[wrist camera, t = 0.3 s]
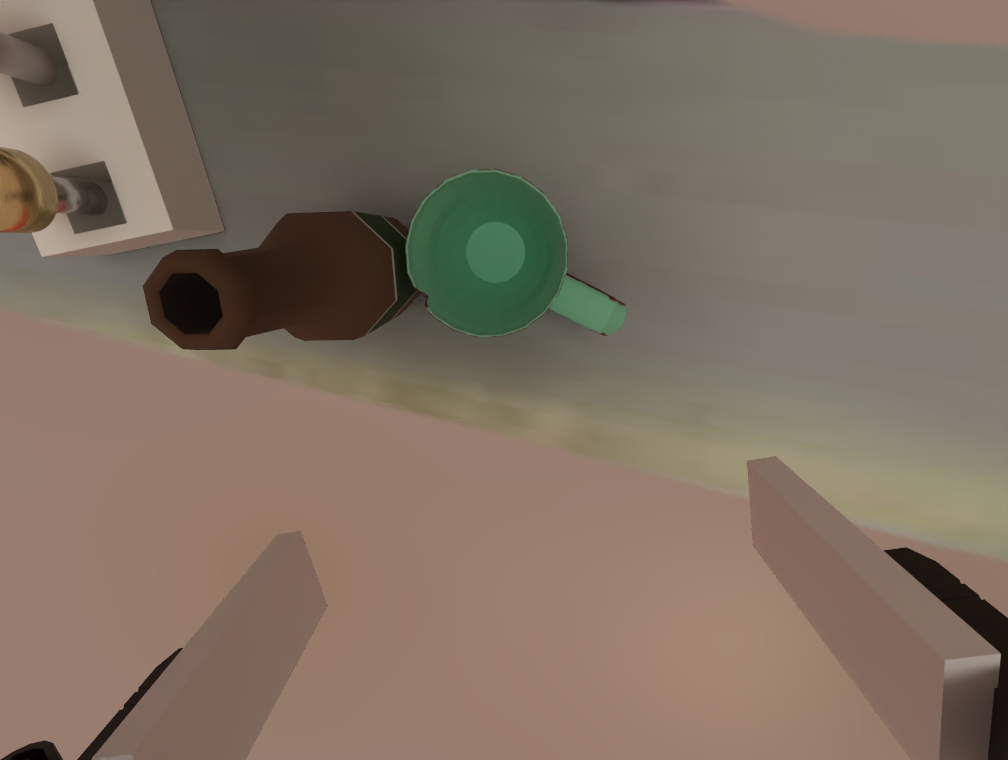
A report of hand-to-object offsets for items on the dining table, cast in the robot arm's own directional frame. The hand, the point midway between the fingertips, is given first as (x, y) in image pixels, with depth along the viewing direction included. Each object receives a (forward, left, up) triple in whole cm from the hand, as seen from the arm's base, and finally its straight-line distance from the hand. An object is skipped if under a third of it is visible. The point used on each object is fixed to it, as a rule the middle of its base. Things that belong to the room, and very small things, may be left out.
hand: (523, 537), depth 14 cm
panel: (-24, -27, -28) cm, 45 cm away
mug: (-6, +1, -28) cm, 28 cm away
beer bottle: (-8, -10, -28) cm, 31 cm away
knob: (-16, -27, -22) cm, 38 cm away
